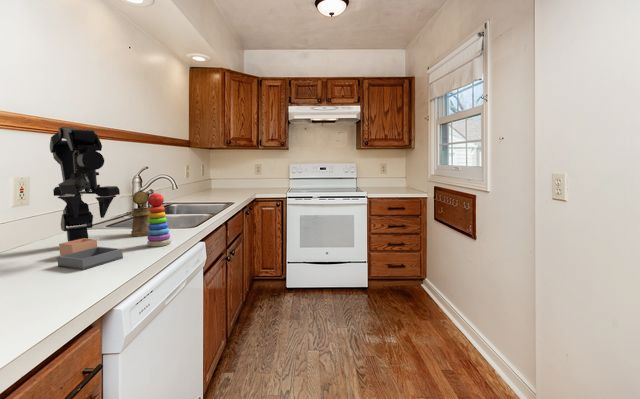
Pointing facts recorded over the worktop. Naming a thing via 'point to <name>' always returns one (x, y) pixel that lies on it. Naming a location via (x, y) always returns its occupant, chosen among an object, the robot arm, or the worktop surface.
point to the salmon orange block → (77, 246)
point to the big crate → (89, 258)
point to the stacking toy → (157, 222)
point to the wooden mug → (140, 215)
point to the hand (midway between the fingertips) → (89, 217)
